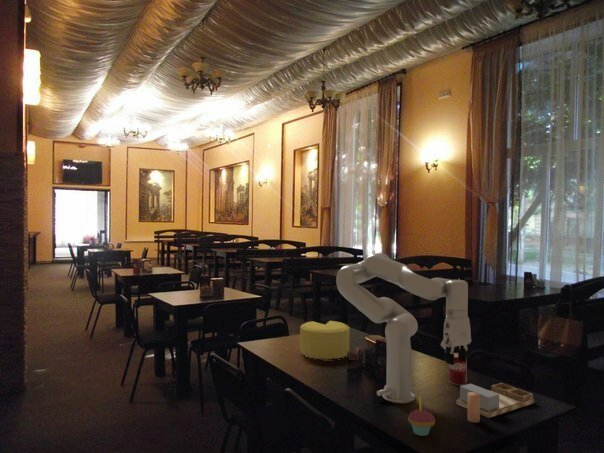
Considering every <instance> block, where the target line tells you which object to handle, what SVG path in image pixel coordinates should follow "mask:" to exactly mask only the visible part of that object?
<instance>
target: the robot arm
mask: <svg viewBox="0 0 604 453" xmlns="http://www.w3.org/2000/svg"><path fill="white" fill-rule="evenodd" d="M376 277H377V278H380V279H382V280H385V281H386V282H390V283H392V284H394V285H397V286H399V288H401V289H403V290H405V291H406V292H409V293H410V294H412V295H415V296H418V297H420V298H422V299H425V300H427V301H428V300H429V301H436V300H438V299H440V298H445V318H444V324H443V333H442V334H443V339H442V341H441V343H440V346H441V348H442V349H443V350H444V353H445V363H446V364H448V365H449V364H451V365H454V354H453V353H454V350H455V348H456V347H459V349H458V352H457V353H458V360H459V361H462V362H466V357H467V352H468V350H469V346H470V344H471V343H472V335H471V331H472V330H471V322H470V317H469V316H468V315H469V314H468V309H469V308H468V304H469V303H468V302H469V299H468V298H469V296H468V295H469V292H468V291H469V283H468V282H467V281H466V280H462V279H447V278H443V277H433V278H428V277H424V276H422V275H420V274H417V273H416V272H414V271H412V270H411V269H410V268H409V267H408V266H407V265H406V264H405V263H401V262H399V261H396V260H393V259H391V258H390V257H389V255H388V254H386V253H384V252H377V253H371V254H369V255H368V256H367V257H366V258H365V259H364V260H362V261H359V262H357V263H352V264H347V265H344V266H342V267H341V268H340V269H339V270H338V271H337V273H336V278H335V279H336V280H335V282H336V283H335V284H336V287H337V290H338V292H339V293H340V295H342V297H344V298H345V300H346V301H348V302H349V303H350V304H352V305H353V306H354V307H355V308H356V309H357V310H358V311H359V312H361V313H362V314H363V315H365V316H366V317H367V318H368V319H369V320H371V321H372V322H373V323H375V324H382V323H384V322H386V324H385V325H386V326H385V329H384V335H385V343H386V373H385V374H386V382H385V383H386V384H385V385H384V387H383V388H382V389H379V390H376V396H378V397H381V396H382V398H383V399H384V400H386V401H389V402H391V403H395V404H408V403H413V402H414V401H415V400H416V395H415V393H413V392H412V345H411V337H412V336H414V335H415V334H416V333H417V331H418V328H419V325H418V321H417V319H416V318H415V317H414V315H412V313H410V312H409V311H408V310H406V309H405V308H404V307H402V306H401V305H400V304H399V303H397V302H396V301H395V300H394V299H391V298H390V297H386V296H382V297H377V296H375V295H374V294H373V293H371V292H370V291H369V290H368V289H367V288H365V287H363V286H361V285H360V284H362V283H364V282H367V281H369V280H372V279H373V278H376Z"/></svg>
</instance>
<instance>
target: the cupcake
mask: <svg viewBox="0 0 604 453" xmlns="http://www.w3.org/2000/svg"><path fill="white" fill-rule="evenodd" d="M418 402H419V405H418V407H419V408H417V409H414V410H412V411H411V412H409V413H408V418H407V420H408V422H409V423H410V424H411V427H412V430H413V434H414V435H417V436H421V437H424V436H428V435H429V433H430V431H431V428H432V427H433V426H435V423H436V418H435V416H434V415H433V413H431V412H429V411H428V410H425V409H422V396H421V395H419V396H418Z"/></svg>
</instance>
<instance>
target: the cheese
mask: <svg viewBox="0 0 604 453" xmlns="http://www.w3.org/2000/svg"><path fill="white" fill-rule="evenodd" d="M299 328H300V330H299V331H300V332H299V334H300V336H299V338H300V339H299V342H300V344H299V349H300V350H301V352H302V353H304V354H305V355H308V356H311V357H316V358H325V359H332V358H341V357H344V356H347V353H348V351H349V352H350V336H351V335H350V332H351V330H350V328H351V327H350V326H349V325H347V324H346V323H343V322H340V321H334V320H329V321H327V322H326V323H325V324H324V323H320V322H316V321H313V320H312V321H307V322H305V323H302V325H300V326H299ZM300 350H299V351H300ZM347 357H348V356H347Z"/></svg>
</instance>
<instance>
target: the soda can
mask: <svg viewBox="0 0 604 453" xmlns="http://www.w3.org/2000/svg"><path fill="white" fill-rule="evenodd" d="M453 354H454V365H451V364H448V382H449V383H450V384H451V385H455V386H463V385H467V384H468V383H467V382H468V379H467V377H468V376H467V369H468V368H467V367H468V366H467V365H468V364H467V363H468V362H467V361H468V359H467V358H468V357H467V356H466V362H462V361H459V360H458V352H453Z"/></svg>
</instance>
